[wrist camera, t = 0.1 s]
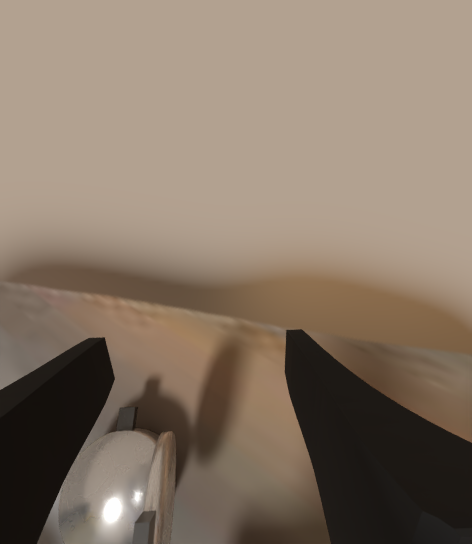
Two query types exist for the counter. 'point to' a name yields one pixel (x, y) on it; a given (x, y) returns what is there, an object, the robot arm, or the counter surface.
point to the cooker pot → (108, 485)
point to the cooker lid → (158, 495)
